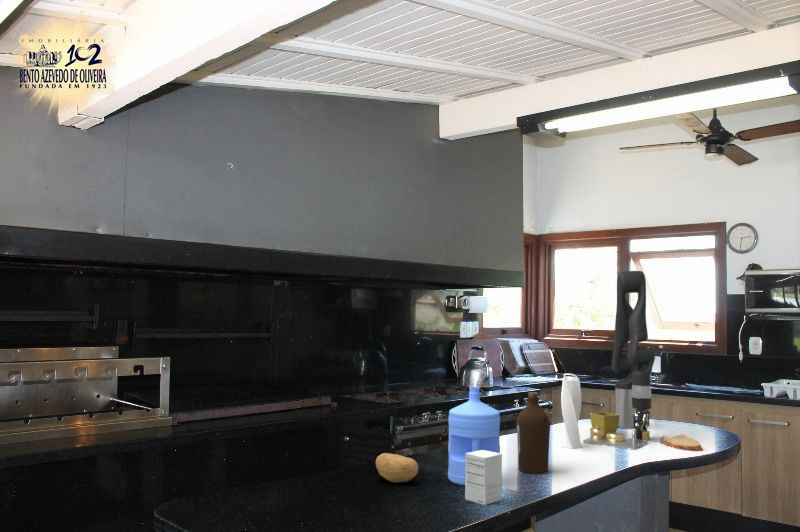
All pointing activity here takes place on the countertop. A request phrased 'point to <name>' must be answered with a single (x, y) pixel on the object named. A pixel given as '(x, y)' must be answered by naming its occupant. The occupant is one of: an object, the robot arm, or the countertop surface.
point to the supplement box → (483, 477)
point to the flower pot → (605, 421)
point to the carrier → (613, 439)
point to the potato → (396, 467)
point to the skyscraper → (571, 411)
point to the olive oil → (533, 437)
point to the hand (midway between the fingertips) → (641, 438)
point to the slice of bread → (681, 443)
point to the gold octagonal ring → (645, 434)
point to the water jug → (471, 433)
